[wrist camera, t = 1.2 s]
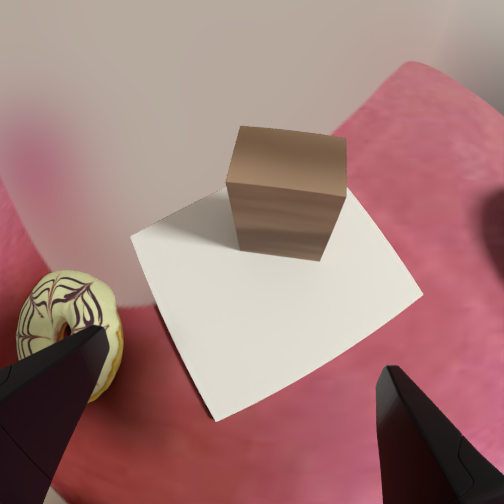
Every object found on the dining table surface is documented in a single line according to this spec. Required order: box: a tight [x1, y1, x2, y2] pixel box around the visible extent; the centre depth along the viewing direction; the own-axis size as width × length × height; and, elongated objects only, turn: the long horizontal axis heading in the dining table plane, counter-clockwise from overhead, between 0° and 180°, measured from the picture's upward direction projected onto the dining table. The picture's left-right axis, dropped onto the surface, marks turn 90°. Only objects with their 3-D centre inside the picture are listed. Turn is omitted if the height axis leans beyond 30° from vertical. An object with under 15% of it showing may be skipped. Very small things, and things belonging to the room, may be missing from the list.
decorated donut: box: [16, 270, 124, 403], centre depth 20 cm, size 10×11×4 cm
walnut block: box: [226, 126, 347, 262], centre depth 20 cm, size 4×6×9 cm, turn 81°
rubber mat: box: [130, 187, 423, 422], centre depth 23 cm, size 16×18×1 cm
